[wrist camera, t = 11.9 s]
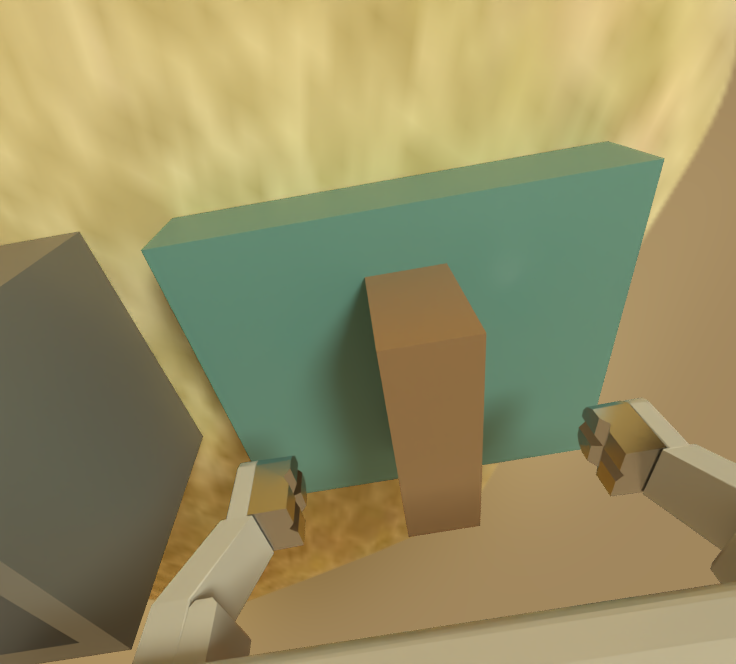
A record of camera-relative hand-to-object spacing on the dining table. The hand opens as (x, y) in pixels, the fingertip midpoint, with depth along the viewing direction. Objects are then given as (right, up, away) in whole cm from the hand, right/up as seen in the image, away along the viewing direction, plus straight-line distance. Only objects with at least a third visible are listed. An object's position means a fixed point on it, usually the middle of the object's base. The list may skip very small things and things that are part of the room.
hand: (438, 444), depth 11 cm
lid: (-1, +3, +5) cm, 6 cm away
